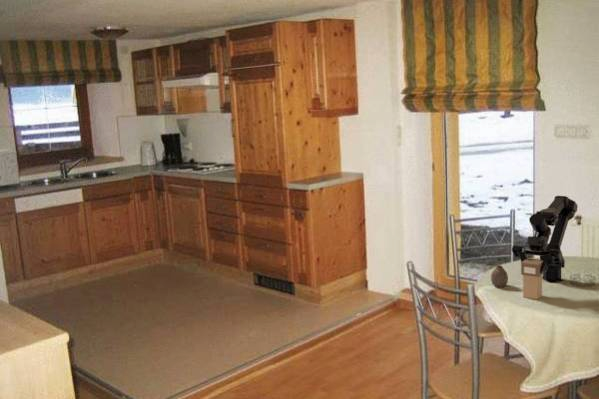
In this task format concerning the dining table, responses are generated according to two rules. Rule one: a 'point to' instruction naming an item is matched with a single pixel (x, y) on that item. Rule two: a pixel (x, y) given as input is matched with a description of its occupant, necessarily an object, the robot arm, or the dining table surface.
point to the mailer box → (532, 287)
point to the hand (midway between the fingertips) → (531, 271)
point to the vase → (499, 277)
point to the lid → (531, 267)
